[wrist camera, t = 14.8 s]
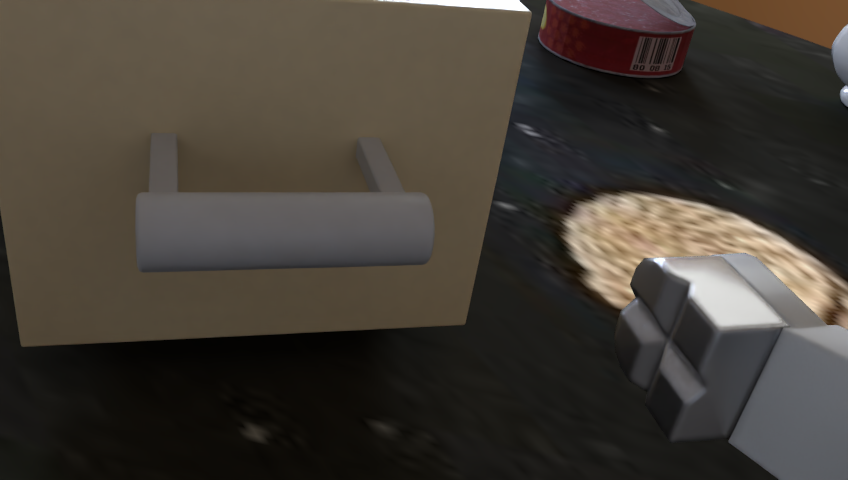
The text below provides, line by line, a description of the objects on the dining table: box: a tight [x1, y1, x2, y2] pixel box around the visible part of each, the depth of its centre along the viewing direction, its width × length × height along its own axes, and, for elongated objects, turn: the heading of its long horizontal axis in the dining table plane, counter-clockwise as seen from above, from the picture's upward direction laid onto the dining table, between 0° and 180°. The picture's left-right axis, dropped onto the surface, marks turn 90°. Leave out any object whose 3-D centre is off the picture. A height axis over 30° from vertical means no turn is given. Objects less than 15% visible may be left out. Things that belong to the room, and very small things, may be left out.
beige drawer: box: [0, 0, 532, 347], centre depth 25 cm, size 19×13×10 cm, turn 15°
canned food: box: [538, 0, 696, 78], centre depth 54 cm, size 11×10×10 cm
